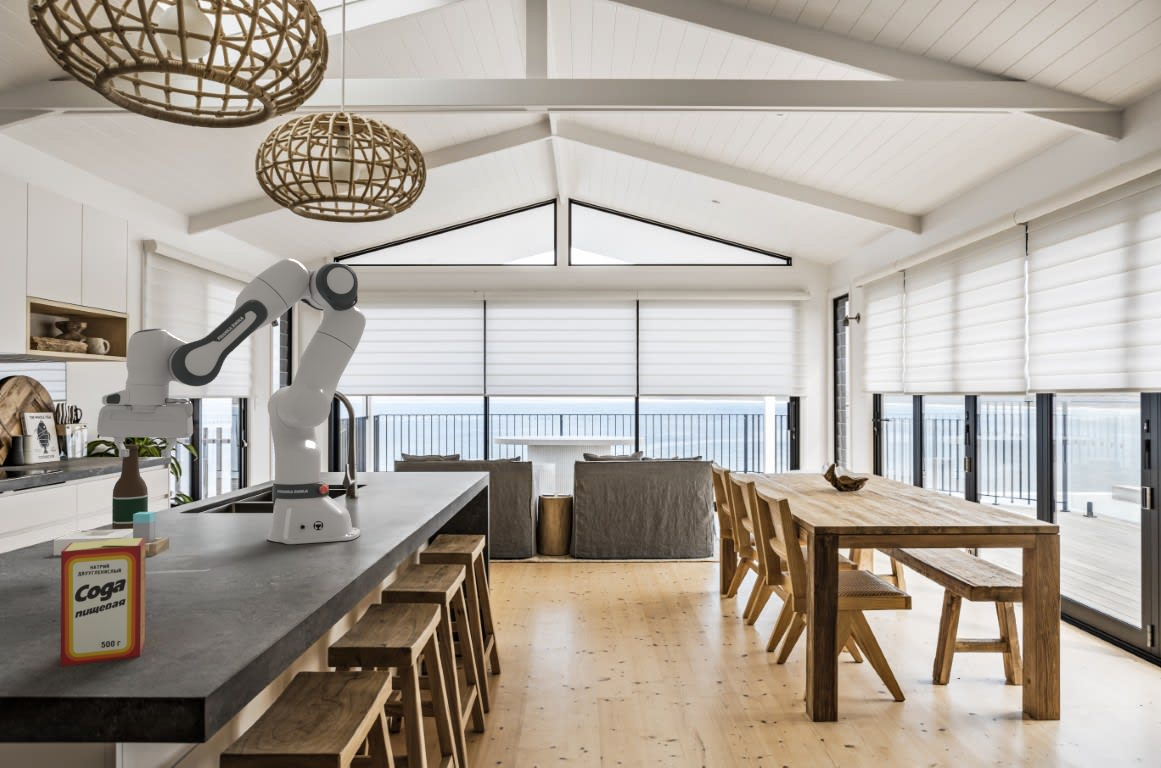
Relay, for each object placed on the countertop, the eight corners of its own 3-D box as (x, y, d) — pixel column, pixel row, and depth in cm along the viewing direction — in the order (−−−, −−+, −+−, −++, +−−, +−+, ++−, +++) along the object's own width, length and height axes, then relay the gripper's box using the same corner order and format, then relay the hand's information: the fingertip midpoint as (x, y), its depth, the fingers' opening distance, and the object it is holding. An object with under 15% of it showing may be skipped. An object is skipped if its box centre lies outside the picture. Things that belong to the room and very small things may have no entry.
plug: (155, 550, 179) (155, 511, 179) (149, 553, 176) (149, 514, 176) (139, 550, 179) (139, 512, 179) (132, 553, 175) (133, 514, 175)
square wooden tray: (169, 550, 182) (169, 537, 182) (156, 557, 174) (156, 544, 174) (132, 551, 180) (132, 538, 180) (118, 558, 173) (118, 545, 173)
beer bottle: (104, 540, 193) (105, 445, 194) (131, 535, 201) (131, 443, 201) (129, 542, 191) (129, 446, 191) (154, 536, 199) (155, 444, 199)
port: (141, 544, 188) (141, 527, 188) (120, 555, 176) (120, 536, 176) (78, 546, 186) (79, 529, 186) (53, 557, 174) (53, 538, 174)
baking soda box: (60, 666, 105) (61, 548, 105) (69, 651, 111) (70, 540, 111) (140, 656, 109) (140, 543, 109) (145, 642, 115) (145, 535, 115)
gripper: (198, 398, 183) (196, 456, 183) (109, 397, 182) (107, 455, 181) (187, 398, 177) (185, 458, 176) (94, 396, 175) (92, 457, 175)
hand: (145, 457), depth 179 cm, fingers open, 8 cm apart
